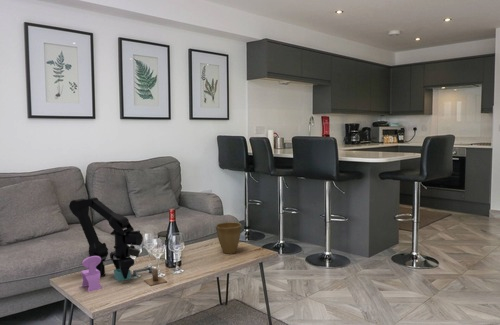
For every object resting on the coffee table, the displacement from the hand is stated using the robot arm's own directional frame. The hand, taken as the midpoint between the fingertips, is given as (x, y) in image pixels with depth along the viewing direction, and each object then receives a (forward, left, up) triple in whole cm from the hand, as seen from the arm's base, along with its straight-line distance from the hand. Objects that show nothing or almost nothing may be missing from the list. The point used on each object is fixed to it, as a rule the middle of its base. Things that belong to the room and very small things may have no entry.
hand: (122, 275), depth 195 cm
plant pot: (+64, +6, -1) cm, 64 cm away
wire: (+10, -3, -1) cm, 11 cm away
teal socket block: (0, 0, -1) cm, 1 cm away
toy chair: (-15, -3, -2) cm, 15 cm away
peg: (+11, -14, -1) cm, 18 cm away
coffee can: (+31, +18, -2) cm, 36 cm away
